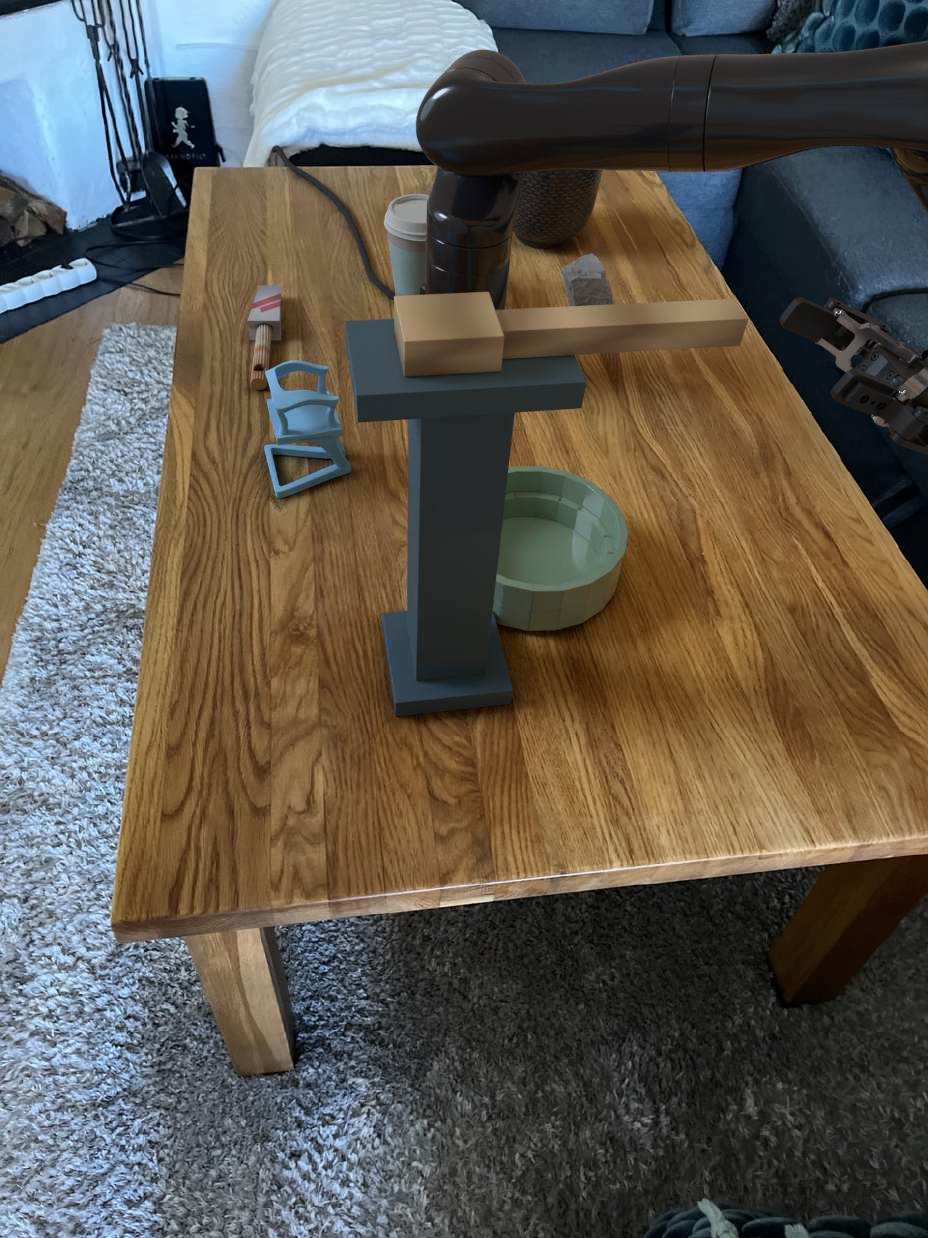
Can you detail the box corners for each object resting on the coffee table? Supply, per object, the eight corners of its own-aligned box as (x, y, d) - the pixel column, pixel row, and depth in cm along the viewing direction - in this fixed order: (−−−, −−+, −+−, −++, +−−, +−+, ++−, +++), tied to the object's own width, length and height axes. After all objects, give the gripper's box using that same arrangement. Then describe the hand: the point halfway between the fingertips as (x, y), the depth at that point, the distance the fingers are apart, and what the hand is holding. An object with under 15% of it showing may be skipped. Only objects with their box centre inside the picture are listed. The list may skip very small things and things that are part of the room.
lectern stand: (371, 719, 78) (358, 405, 54) (360, 629, 85) (343, 311, 61) (533, 701, 81) (590, 391, 56) (510, 614, 87) (552, 302, 63)
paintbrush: (284, 274, 118) (273, 374, 106) (286, 294, 120) (275, 394, 108) (253, 274, 117) (238, 374, 105) (256, 293, 120) (241, 393, 107)
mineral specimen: (595, 294, 123) (613, 243, 116) (619, 341, 120) (639, 292, 113) (544, 299, 121) (559, 248, 114) (567, 348, 118) (584, 298, 111)
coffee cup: (459, 289, 124) (464, 199, 114) (437, 322, 118) (440, 230, 109) (399, 275, 125) (399, 186, 116) (374, 307, 120) (372, 216, 111)
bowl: (411, 557, 91) (411, 511, 87) (536, 489, 98) (542, 444, 94) (525, 664, 83) (532, 620, 79) (651, 581, 91) (664, 537, 86)
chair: (355, 486, 97) (351, 390, 88) (275, 499, 95) (262, 402, 86) (340, 440, 102) (335, 344, 93) (264, 451, 100) (250, 355, 91)
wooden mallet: (404, 377, 56) (404, 341, 54) (394, 331, 59) (393, 295, 58) (747, 357, 59) (758, 322, 58) (720, 314, 63) (730, 280, 61)
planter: (594, 263, 130) (610, 168, 120) (494, 257, 129) (502, 162, 120) (587, 215, 139) (601, 123, 129) (494, 210, 139) (501, 117, 129)
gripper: (957, 317, 72) (808, 242, 65) (1066, 433, 63) (907, 361, 56) (885, 394, 77) (739, 332, 69) (977, 512, 68) (820, 455, 60)
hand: (814, 345), depth 62 cm, fingers open, 8 cm apart
